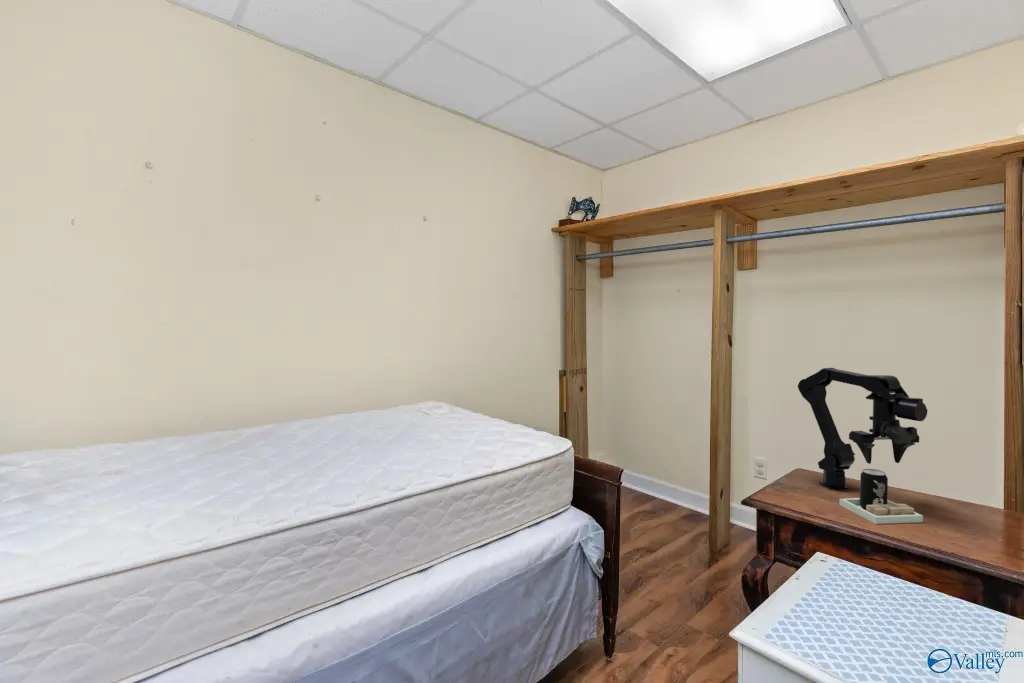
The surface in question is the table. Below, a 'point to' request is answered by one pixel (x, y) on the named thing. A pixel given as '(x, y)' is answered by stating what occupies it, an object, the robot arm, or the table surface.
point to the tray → (855, 507)
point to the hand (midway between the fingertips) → (882, 463)
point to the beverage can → (873, 488)
